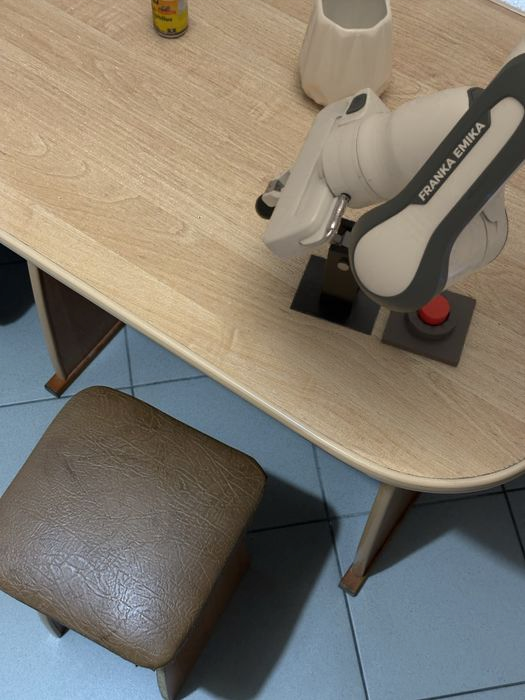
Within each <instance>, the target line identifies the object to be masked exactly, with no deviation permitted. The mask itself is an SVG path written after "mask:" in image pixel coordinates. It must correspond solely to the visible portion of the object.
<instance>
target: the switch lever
mask: <svg viewBox="0 0 525 700" xmlns="http://www.w3.org/2000/svg"><path fill="white" fill-rule="evenodd" d="M263 194H264V192H263V193H261V194H260V195H259V196H258V197H257V198H256V200H255V202H254V210H255V212H256V214H257V216H258V217H260V218H261V219H263V220H265V221H269V220H270V218H271V216H272V214H273V211H274V209H275V207H276V206H274V207H270V206H268V205H267V204H266V203H265V202H264V201H263V200H262V196H263ZM350 234H351V232H349V231H346V232H345V233H344V235H343V236H340V235H338V234H337V232H336V233H335V234H334V236H333V238H332V239H331V240H330V242H329V243H328V244H331V243H332V244H335V245H338V246H341V247H344V248H348V249H349V239H350Z"/></svg>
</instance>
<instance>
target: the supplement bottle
mask: <svg viewBox="0 0 525 700" xmlns="http://www.w3.org/2000/svg"><path fill="white" fill-rule="evenodd" d="M150 5H151V13H152V23H153V24H152V25H153V28H154V30H155V31H156V33H157V34H159V35H160V36H162V37H165V38H171V39H172V38H178V37H181V36H182V35H184V34H185V33H186V32H187V30H188V28H189V25H190V23H189V22H190V21H189V6H188V5H189V3H188V0H150Z"/></svg>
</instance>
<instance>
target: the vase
mask: <svg viewBox="0 0 525 700" xmlns="http://www.w3.org/2000/svg"><path fill="white" fill-rule="evenodd" d="M394 50H395V49H394V19H393V12H392V7H391V1H390V0H315V1H314V3H313V6H312V10H311V12H310V16H309V20H308V23H307V27H306V29H305V33H304V36H303V40H302V44H301V49H300V52H299V55H298V66H299V73H300V82H301V88H302V90H303V92H304V94H305V95H306V96H307V97H308V98H310V99H312V101H314V102H315V103H316V104H317V105H320V106H322V107H323V108H324V107H326V106H328V105H330V104H332V103H334V102H336V101H339V100H341V99H344V98H346V97H350V96H354V95H355V94H356V93H357V92H358V91H360V90H362V89H365V88H370V89H371V90H372V91H373V92H374V93H375V94H376V95H377V96H378V97H379V98H380V96H381V94H382V93H383V92H385V91H386V90H387V89H388V88H389V87H390V84H391V80H392V72H393V64H394V58H395V51H394Z"/></svg>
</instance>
